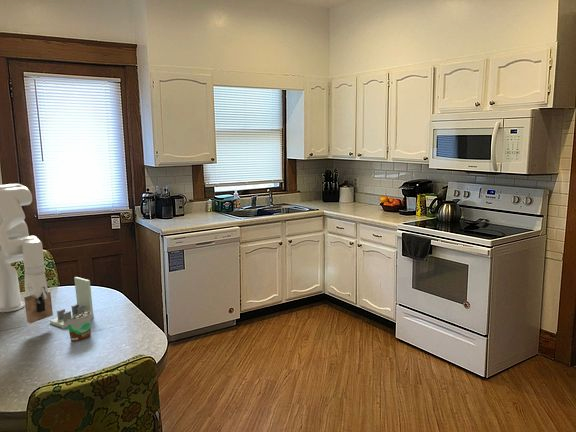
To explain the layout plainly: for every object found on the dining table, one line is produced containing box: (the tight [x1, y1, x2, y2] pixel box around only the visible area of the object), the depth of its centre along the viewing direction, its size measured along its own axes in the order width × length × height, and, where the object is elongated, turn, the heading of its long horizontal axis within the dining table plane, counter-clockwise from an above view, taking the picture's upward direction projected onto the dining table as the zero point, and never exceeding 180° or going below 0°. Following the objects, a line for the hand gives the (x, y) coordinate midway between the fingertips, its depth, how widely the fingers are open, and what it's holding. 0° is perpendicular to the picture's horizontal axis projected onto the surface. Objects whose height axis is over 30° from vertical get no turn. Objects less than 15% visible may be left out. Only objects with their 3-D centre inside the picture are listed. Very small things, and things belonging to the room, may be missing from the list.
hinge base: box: [49, 276, 95, 329], centre depth 222 cm, size 15×10×18 cm, turn 146°
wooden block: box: [23, 290, 54, 324], centre depth 210 cm, size 10×3×11 cm, turn 146°
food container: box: [67, 309, 93, 343], centre depth 204 cm, size 12×6×10 cm, turn 168°
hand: (39, 310), depth 211 cm, fingers closed on wooden block, 2 cm apart
